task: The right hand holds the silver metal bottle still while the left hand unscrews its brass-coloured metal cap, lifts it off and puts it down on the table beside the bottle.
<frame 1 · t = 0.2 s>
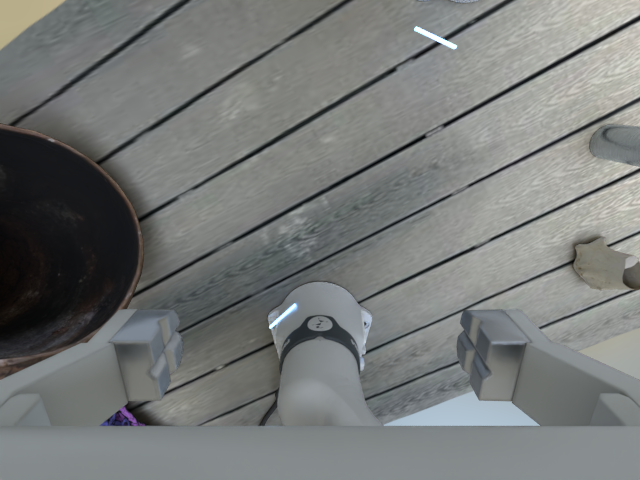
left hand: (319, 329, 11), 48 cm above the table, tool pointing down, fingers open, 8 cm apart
pot: (53, 227, 60), on the table
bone: (587, 259, 62), on the table
decorative ornament: (143, 430, 76), on the table
bottle: (606, 141, 55), on the table
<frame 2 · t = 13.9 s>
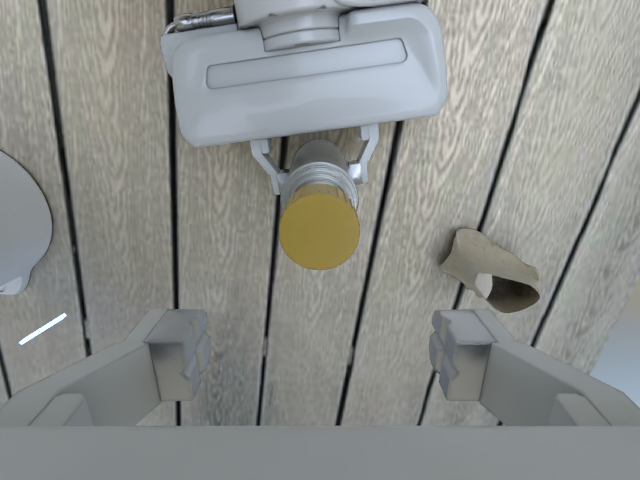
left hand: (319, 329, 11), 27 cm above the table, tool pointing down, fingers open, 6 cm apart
right hand: (321, 187, 31), fingers closed on bottle, 5 cm apart
cap: (319, 231, 18), point 19 cm above the table, screwed on, not yet turned
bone: (479, 257, 39), on the table
bottle: (319, 165, 36), on the table, touching right hand
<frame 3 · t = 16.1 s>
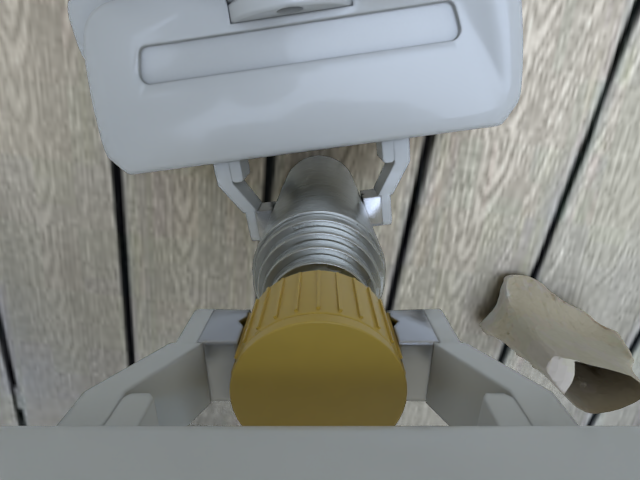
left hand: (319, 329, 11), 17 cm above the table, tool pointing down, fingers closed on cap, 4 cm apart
right hand: (322, 229, 21), fingers closed on bottle, 5 cm apart
cap: (318, 387, 8), point 19 cm above the table, screwed on, not yet turned, touching left hand
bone: (531, 310, 29), on the table
bottle: (319, 191, 26), on the table, touching right hand
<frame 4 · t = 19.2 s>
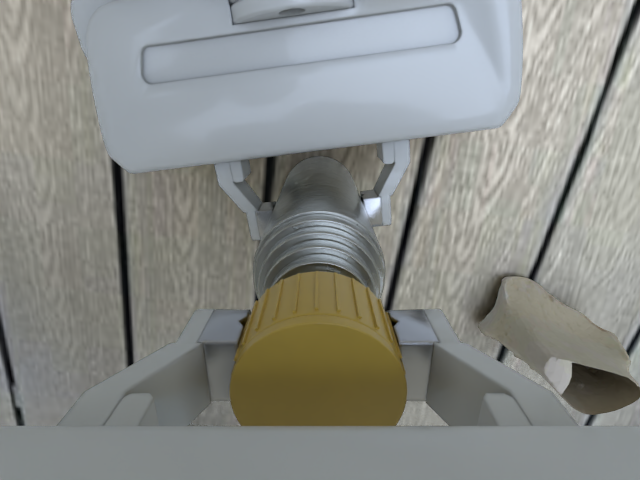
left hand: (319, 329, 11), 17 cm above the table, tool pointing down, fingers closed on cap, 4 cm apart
right hand: (322, 229, 21), fingers closed on bottle, 5 cm apart
cap: (318, 388, 8), point 19 cm above the table, turned 85° so far, risen 0.1 cm, still on its thread, touching left hand
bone: (529, 311, 30), on the table
bottle: (319, 191, 26), on the table, touching right hand
when the left hand's fingers open (2 cm above the table, at t = 38.2 s): cap drops 2 cm, point 2 cm above the table.
when the right hand's fingers open (6 cm above the table, at t = 39.4 s): bottle stays where it is, on the table.
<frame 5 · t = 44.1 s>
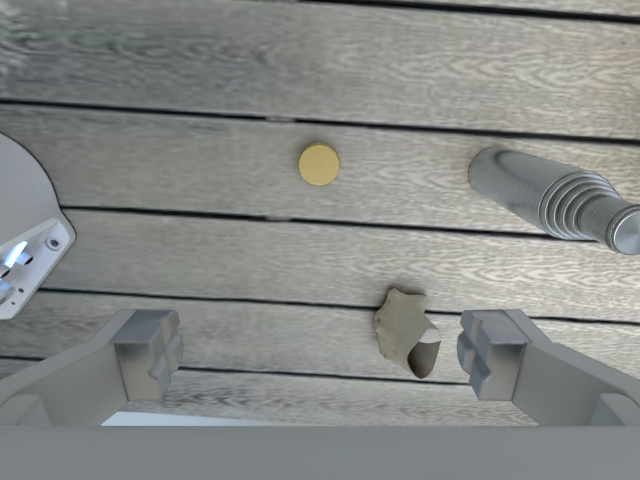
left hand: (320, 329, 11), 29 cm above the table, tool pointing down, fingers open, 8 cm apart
cap: (319, 165, 36), point 2 cm above the table, off its thread
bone: (396, 316, 44), on the table
bottle: (492, 171, 38), on the table
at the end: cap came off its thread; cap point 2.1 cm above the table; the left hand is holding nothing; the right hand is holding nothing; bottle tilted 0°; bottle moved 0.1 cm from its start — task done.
